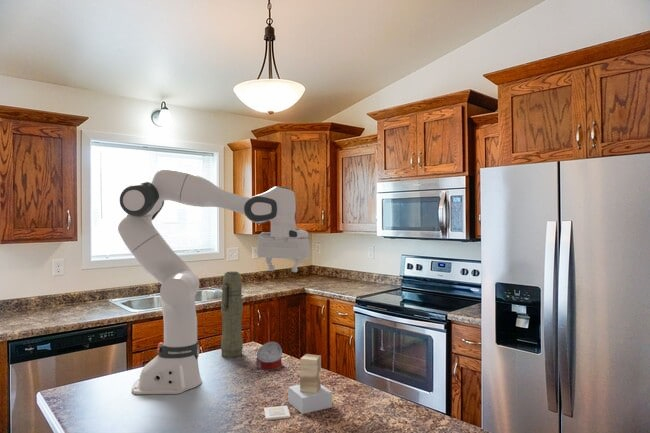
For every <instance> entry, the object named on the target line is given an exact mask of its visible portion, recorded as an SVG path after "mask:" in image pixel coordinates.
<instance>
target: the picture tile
mask: <svg viewBox="0 0 650 433" xmlns="http://www.w3.org/2000/svg"><path fill="white" fill-rule="evenodd" d="M263 411H264V412H263V413H264V417H265V421H269V420H270V421H271V420H279V419H280V420H281V419H290V418H291V413H290V410H289V407H288V405H280V406H269V407H263Z"/></svg>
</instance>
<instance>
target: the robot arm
mask: <svg viewBox="0 0 650 433" xmlns="http://www.w3.org/2000/svg"><path fill="white" fill-rule="evenodd" d="M165 201H172V202H175V203H179V204H181V205H186V206H192V207H201V208H202V207H203V208H204V207H206V208H208V207H211V208H221V209H225V210H228V211H232V212H235V213H238V214H240V215H241V214H242V215H244V216H245V217H246V218H247V219H248V220H249V221H251V222H252V223H256V224H265V223H267V222H270V231H267V232H266V231H262V232H261V233H259V235H257V246H256V247H257V248H256V255H257V257H258V258H265V262H266V264H267V266H268V271H275V270H276V269H275V265H274V264H273V262H272V261H273V259H287V260H288V259H289V260H290V259H291V260H292V259H293V262H294V265H293V266H291V268H290V269H291V271H290V272H292V273H297V272H298V267H299V265H300V263H301V260H308V259H309V258H310V257H311V246H310V240H309V238H308V237H309V232H308V231H306V230H304V229H302V228H299V227H298V226H297V227H296V223H297V222H296V217H295V216H296V209H297V207H296V206H297V205H296V204H297V203H296V195H295V192H294V191H293V189H291V188H290V187H289V188H288V187H284V186H280V185H275V186H273V187H272V188H270V189H269V190H267V191H265V192H262V193H259V194H256V195H253V196H251V197H246V196H243V195H240V194H236V193H233V192H229V191H226V190H224V189H222V188H221V187H218V185H216V184H215V183H213V182H212V181H210V180H208V179H206V178H204V177H202V176H200V175H198V174H194V173H191V172H189V171H185V170H184V171H183V170H180V169H174V168H161V169H159V170H158V171H156V173H155V174H154V176H153V178H152V181H151V182H149V181H142V182H139V183H135V184H132V185H129V186H127V187H125V189H123V190H122V192H121V194H120V195H119V204H120V207H121V208H122V210H123V211H124V212H125V213H126V214H127V215H126V217H124V218H122V220H121V221H120V223H119V224H118V227H117V231H118V234H119V235H120V237H121V239H122V241H123V243H124V244H125V246H126V248H127V249H128V250H129V252H130V253H131V254H132V255H133V257H134V258H135V260H136V261H137V262H138V263H139V264H140V265H141V266H142V268H143V269H144V270H145V272H146V273H148V274H149V275H151V276H152V277H153V278H154V279H155V280H157V281H158V283H160V285H161V286H160V289H159V296H160V300H161V304H160V305H161V310H162V311H161V312H162V316H163V318H162V319H163V342H161V341H160V342H159V343H158V345H157V350H156V351H157V355H156V356H155V357H154V358H153V359H151V360H150V361H148V363H146V364H145V365H144V366H143V368H142V369H141V371H140V375H139V379H137V380H136V381H135V382H133V384H132V387H131V392H132V393H133V394H134V395H177V394H181V393H184V392H185V391H188V390H190V389H193V388H197V387H199V385H201V383H202V382H203V380H202V377H201V372H200V367H199V354H200V353H199V352H200V346H199V341H198V317H197V308H196V295H197V294H198V292H199V290H200V280H199V277H198V276H197V275H196V273H195V272H194V271H193V270H192V268H190V267H189V266H188V265H187V263H186V262H184V260H183V259H182V258H181V257H180V256H179V255H177V253H176V252H175V251H174V250H173V248H172V247H171V246H170V245H169V244H168V243H167V241H166V240H165V238H163V236H162V235H161V233H160V232H159V231H158V230H157V228H156V227H155V226H154V225H153V220H154V219H155V218H156V217H157V215H159V213H160V212H161V210H162V209H163V207H164V205H165Z"/></svg>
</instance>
